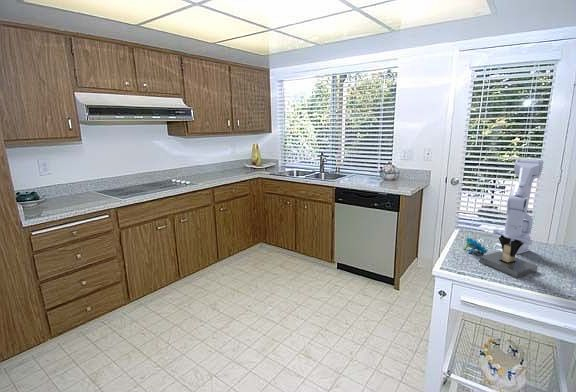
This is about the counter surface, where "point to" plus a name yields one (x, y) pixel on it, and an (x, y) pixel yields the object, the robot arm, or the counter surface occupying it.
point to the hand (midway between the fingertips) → (508, 254)
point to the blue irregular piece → (474, 246)
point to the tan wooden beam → (507, 253)
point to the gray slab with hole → (508, 265)
